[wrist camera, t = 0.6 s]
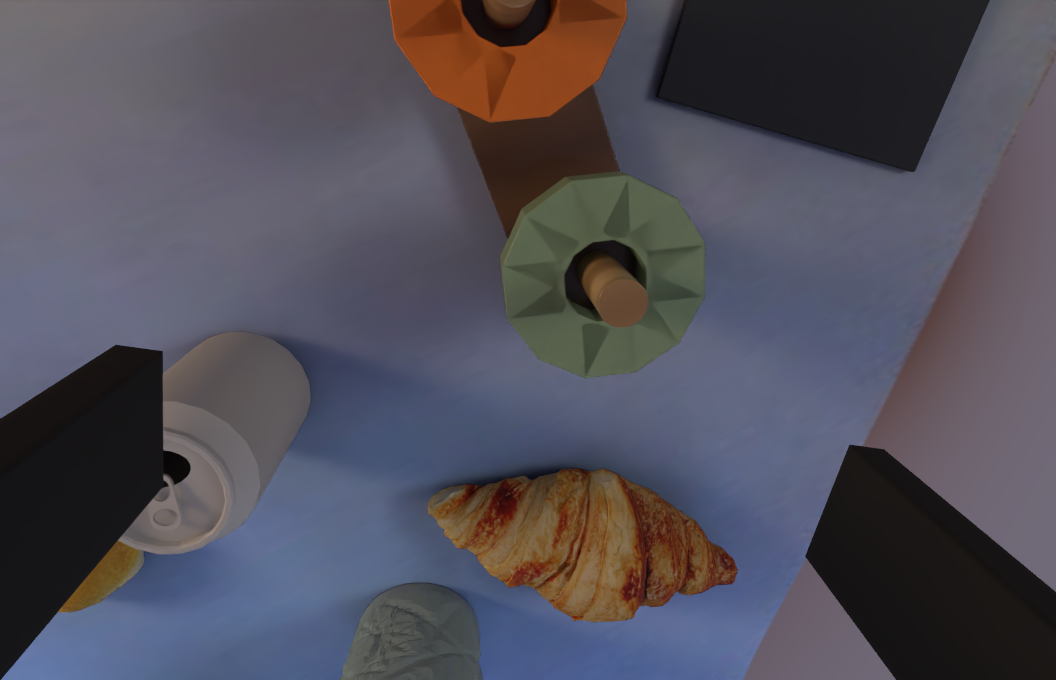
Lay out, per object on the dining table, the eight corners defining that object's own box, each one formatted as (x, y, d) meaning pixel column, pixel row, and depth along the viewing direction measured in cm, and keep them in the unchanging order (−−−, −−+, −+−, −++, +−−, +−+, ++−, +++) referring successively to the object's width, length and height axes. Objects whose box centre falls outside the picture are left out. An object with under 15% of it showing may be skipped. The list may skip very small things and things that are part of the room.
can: (297, 318, 37) (219, 406, 26) (326, 431, 39) (267, 556, 28) (168, 336, 37) (32, 432, 25) (206, 448, 39) (97, 582, 28)
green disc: (552, 139, 27) (558, 140, 26) (725, 222, 29) (742, 229, 27) (471, 319, 30) (471, 333, 28) (636, 386, 32) (646, 403, 30)
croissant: (424, 496, 45) (401, 608, 40) (448, 417, 38) (424, 540, 33) (696, 550, 48) (710, 661, 43) (765, 485, 41) (792, 609, 36)
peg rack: (404, -29, 31) (360, -124, 19) (535, -83, 31) (575, -214, 19) (541, 324, 38) (572, 420, 26) (649, 283, 38) (733, 360, 26)
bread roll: (56, 447, 38) (11, 482, 34) (172, 539, 41) (142, 581, 37) (-33, 523, 39) (-86, 565, 36) (86, 607, 42) (48, 655, 38)
